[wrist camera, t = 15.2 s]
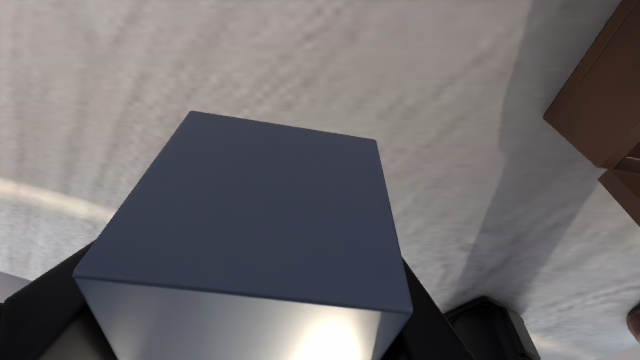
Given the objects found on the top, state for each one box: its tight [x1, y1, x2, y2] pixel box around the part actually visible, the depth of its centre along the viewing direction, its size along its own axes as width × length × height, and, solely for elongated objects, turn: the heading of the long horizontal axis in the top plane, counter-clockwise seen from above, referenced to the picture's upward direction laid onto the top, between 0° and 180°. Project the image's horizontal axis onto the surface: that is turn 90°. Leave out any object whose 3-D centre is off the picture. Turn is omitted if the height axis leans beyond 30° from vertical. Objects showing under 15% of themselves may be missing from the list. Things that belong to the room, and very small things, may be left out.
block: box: [73, 111, 413, 360], centre depth 7 cm, size 4×4×4 cm
